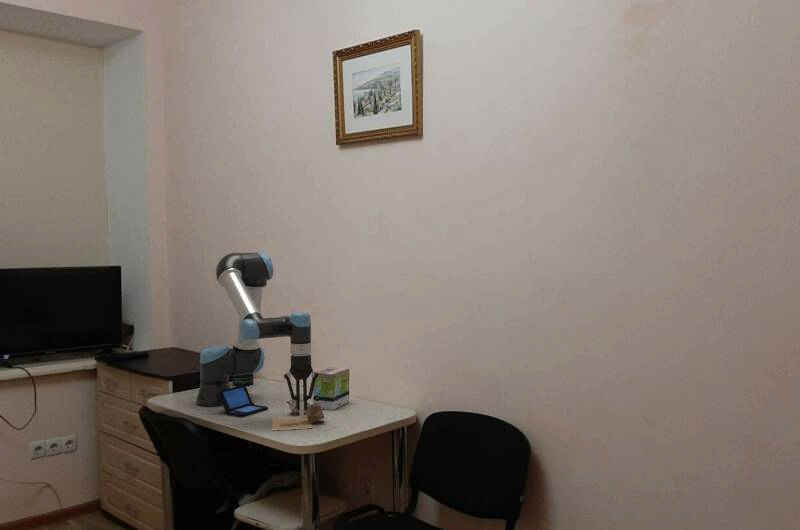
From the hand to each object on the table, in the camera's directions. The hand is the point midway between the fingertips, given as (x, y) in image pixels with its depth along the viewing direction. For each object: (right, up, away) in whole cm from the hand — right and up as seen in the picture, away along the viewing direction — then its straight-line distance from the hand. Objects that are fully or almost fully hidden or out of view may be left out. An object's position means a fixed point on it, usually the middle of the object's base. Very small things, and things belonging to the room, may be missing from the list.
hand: (301, 418), depth 243 cm
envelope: (-4, -2, 0) cm, 4 cm away
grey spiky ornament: (-4, -2, +15) cm, 16 cm away
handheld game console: (-26, -2, +19) cm, 32 cm away
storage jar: (-39, -1, +72) cm, 82 cm away
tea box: (+8, -2, +28) cm, 30 cm away
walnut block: (+5, -1, +1) cm, 5 cm away
